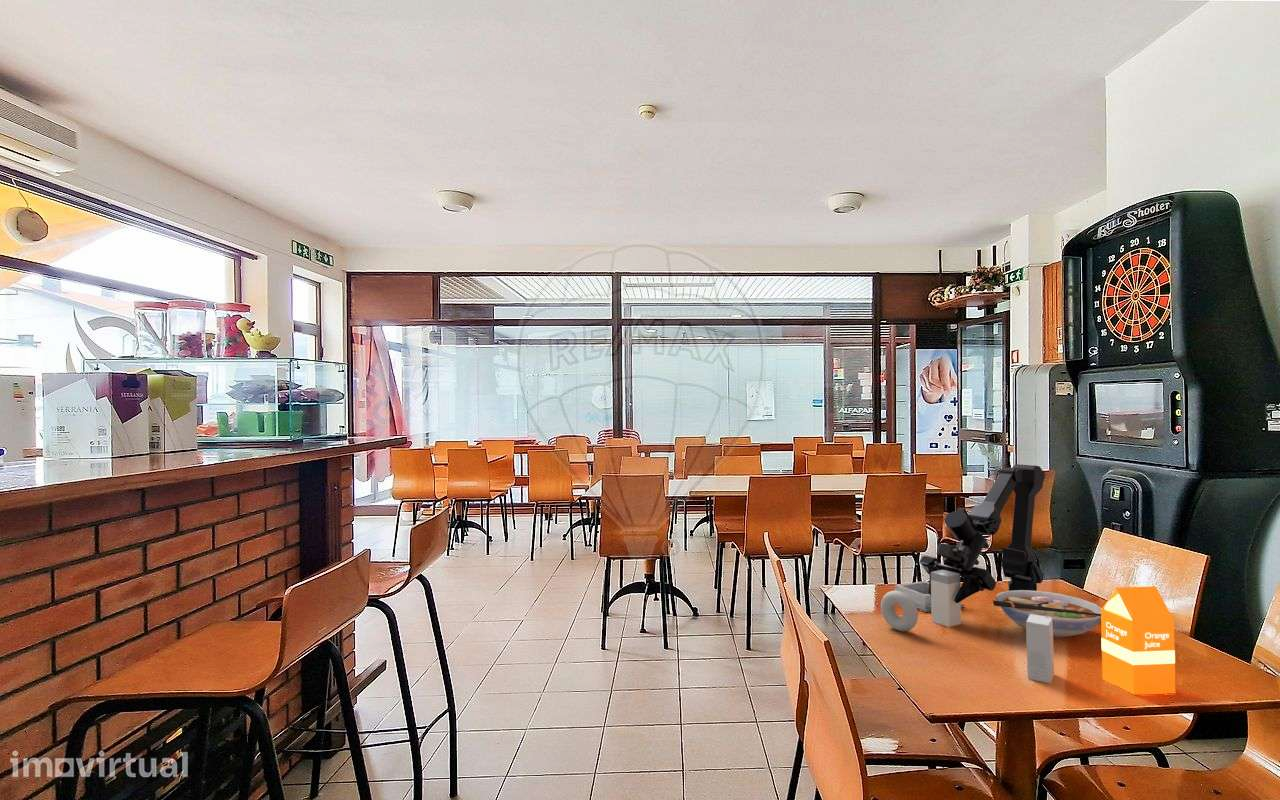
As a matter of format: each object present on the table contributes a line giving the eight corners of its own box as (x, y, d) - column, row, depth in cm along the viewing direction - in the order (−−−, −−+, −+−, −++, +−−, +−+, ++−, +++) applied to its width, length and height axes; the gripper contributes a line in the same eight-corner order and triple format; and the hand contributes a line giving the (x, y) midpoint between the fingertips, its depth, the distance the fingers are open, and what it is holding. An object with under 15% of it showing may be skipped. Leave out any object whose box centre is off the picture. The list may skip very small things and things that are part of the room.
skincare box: (1030, 669, 132) (1029, 613, 132) (1054, 674, 130) (1053, 617, 130) (1026, 678, 128) (1025, 621, 128) (1051, 684, 125) (1049, 625, 125)
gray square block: (943, 618, 165) (942, 569, 165) (961, 623, 160) (960, 573, 160) (931, 621, 162) (930, 572, 162) (949, 627, 158) (948, 576, 158)
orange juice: (1101, 678, 127) (1099, 582, 128) (1141, 677, 128) (1139, 580, 128) (1134, 696, 120) (1132, 593, 120) (1176, 694, 120) (1174, 592, 120)
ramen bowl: (1097, 625, 158) (1097, 593, 158) (1124, 658, 138) (1123, 621, 138) (987, 612, 169) (986, 582, 169) (996, 641, 148) (995, 607, 148)
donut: (878, 625, 159) (877, 587, 159) (886, 623, 161) (885, 585, 161) (912, 638, 151) (912, 597, 151) (921, 635, 152) (920, 594, 153)
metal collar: (925, 592, 185) (925, 581, 185) (956, 603, 174) (956, 591, 174) (895, 597, 181) (895, 585, 181) (925, 608, 170) (925, 596, 170)
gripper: (922, 526, 172) (897, 571, 166) (988, 538, 155) (962, 588, 150) (941, 551, 175) (916, 596, 170) (1007, 565, 159) (982, 615, 153)
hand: (942, 598), depth 161 cm, fingers open, 7 cm apart
